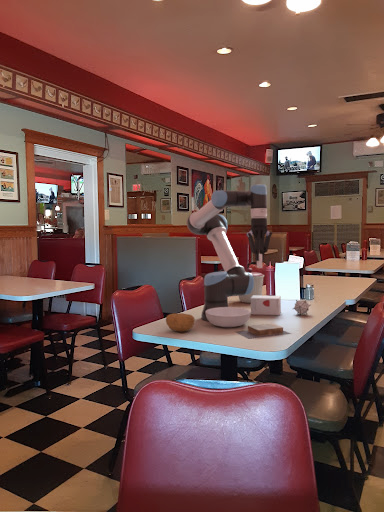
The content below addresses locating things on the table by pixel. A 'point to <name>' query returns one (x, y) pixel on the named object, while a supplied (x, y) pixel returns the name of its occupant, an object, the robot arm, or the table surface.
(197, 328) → the table surface
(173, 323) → the potato
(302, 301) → the game die
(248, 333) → the rubber mat
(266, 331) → the wooden block
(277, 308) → the supplement box
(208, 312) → the serving bowl
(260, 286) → the canister
